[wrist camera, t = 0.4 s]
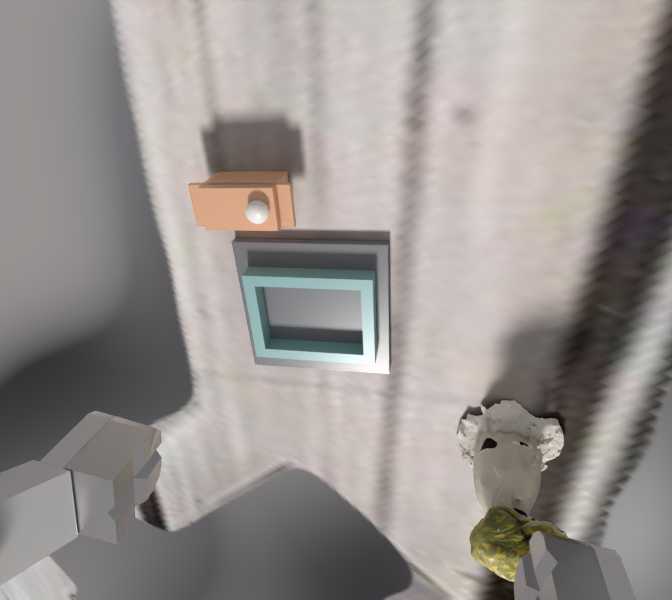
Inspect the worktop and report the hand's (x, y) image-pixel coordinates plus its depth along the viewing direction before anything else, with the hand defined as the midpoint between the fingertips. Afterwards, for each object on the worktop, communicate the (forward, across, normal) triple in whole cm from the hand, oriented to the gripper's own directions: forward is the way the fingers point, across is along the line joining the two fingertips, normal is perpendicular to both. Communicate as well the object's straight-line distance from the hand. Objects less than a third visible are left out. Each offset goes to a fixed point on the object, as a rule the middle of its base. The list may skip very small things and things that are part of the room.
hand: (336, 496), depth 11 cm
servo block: (+38, +15, +5) cm, 41 cm away
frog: (+42, -18, +29) cm, 54 cm away
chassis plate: (+40, +7, +17) cm, 44 cm away
